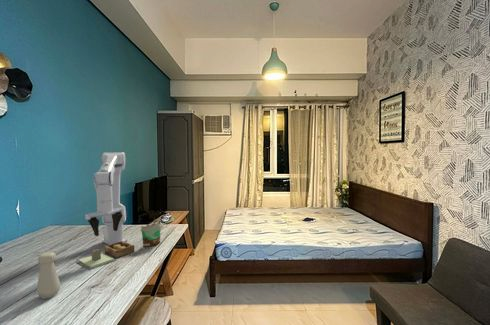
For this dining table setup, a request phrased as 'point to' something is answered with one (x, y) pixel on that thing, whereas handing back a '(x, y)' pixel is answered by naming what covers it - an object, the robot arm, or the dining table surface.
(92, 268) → the mat
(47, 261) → the salt shaker
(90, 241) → the dining table surface
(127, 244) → the box
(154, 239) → the food container
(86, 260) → the lid
